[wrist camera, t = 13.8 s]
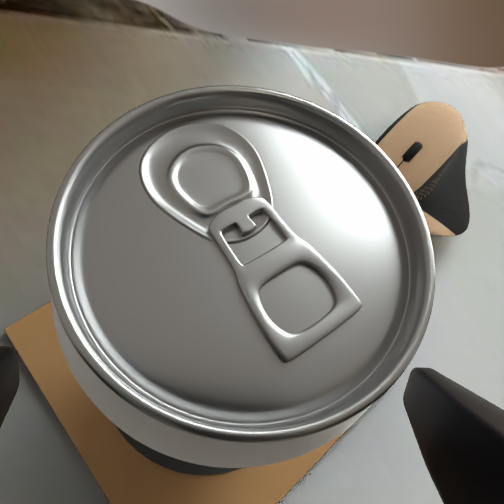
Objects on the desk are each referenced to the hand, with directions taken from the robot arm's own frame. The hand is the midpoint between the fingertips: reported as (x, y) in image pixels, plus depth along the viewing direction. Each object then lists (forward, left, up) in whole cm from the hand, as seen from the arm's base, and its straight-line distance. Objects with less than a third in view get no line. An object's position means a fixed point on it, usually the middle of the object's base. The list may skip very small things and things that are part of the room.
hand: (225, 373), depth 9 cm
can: (+1, +1, -8) cm, 8 cm away
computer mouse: (+17, +3, -8) cm, 19 cm away
